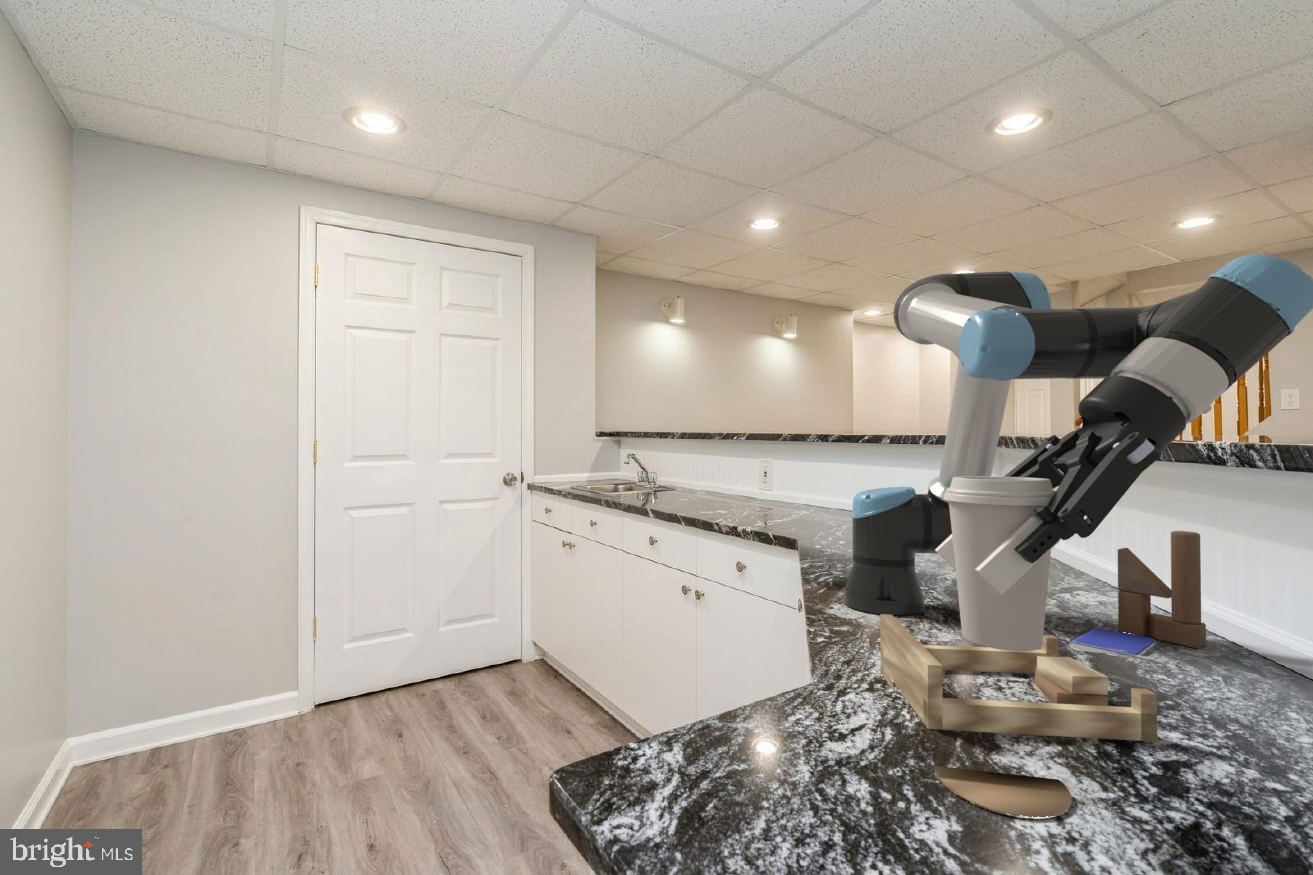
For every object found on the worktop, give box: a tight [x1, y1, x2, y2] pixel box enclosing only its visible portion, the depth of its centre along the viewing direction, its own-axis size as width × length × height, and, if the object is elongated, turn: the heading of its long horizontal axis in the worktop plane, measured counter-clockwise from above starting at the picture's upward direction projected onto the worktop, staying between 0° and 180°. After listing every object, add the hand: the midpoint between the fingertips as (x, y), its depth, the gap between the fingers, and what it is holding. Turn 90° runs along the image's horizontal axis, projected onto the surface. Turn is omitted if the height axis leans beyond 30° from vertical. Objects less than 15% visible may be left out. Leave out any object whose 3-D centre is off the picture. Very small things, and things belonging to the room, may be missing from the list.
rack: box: [879, 614, 1158, 743], centre depth 73 cm, size 22×20×8 cm
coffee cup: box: [943, 475, 1056, 651], centre depth 57 cm, size 10×10×15 cm
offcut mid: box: [1034, 668, 1109, 706], centre depth 73 cm, size 5×8×2 cm, turn 163°
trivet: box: [934, 765, 1072, 817], centre depth 56 cm, size 11×11×1 cm
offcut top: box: [1037, 656, 1109, 696], centre depth 72 cm, size 4×6×2 cm, turn 179°
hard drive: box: [1069, 627, 1157, 657], centre depth 96 cm, size 2×8×12 cm
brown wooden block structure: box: [1117, 530, 1207, 649], centre depth 100 cm, size 4×11×18 cm, turn 32°
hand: (965, 570), depth 57 cm, fingers closed on coffee cup, 9 cm apart
